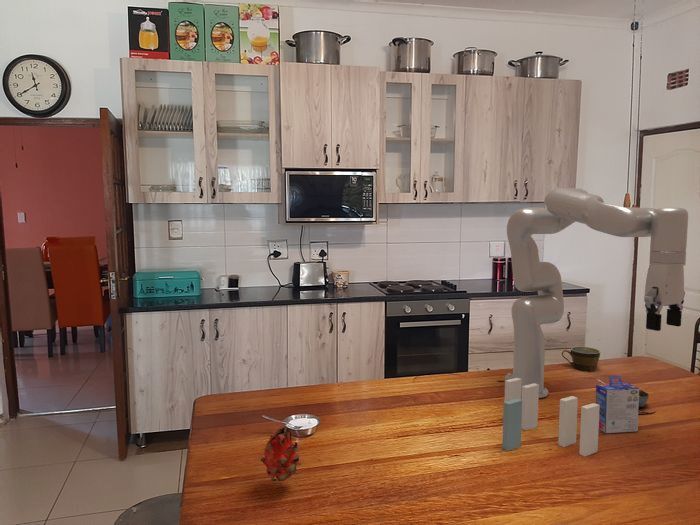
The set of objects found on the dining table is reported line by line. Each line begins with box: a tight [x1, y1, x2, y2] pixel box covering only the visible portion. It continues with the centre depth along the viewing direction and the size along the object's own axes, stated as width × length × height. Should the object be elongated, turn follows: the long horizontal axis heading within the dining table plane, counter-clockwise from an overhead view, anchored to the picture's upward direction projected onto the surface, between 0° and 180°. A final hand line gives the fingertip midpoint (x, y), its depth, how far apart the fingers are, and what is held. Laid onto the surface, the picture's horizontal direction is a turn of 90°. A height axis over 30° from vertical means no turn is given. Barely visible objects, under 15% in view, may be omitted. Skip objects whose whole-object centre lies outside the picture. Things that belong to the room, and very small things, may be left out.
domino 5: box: [578, 402, 600, 457], centre depth 126 cm, size 2×5×12 cm, turn 122°
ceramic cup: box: [561, 346, 601, 373], centre depth 189 cm, size 13×10×10 cm
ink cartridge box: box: [595, 375, 640, 434], centre depth 141 cm, size 10×6×14 cm, turn 98°
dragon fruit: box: [260, 427, 302, 482], centre depth 112 cm, size 8×8×12 cm
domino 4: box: [557, 395, 579, 448], centre depth 132 cm, size 2×5×12 cm, turn 121°
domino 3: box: [521, 383, 539, 431], centre depth 142 cm, size 2×5×12 cm, turn 121°
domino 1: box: [503, 378, 522, 403], centre depth 147 cm, size 2×5×12 cm, turn 122°
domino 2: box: [501, 399, 522, 452], centre depth 129 cm, size 2×5×12 cm, turn 121°
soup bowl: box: [596, 379, 657, 415], centre depth 158 cm, size 15×16×7 cm
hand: (663, 327), depth 126 cm, fingers open, 9 cm apart
